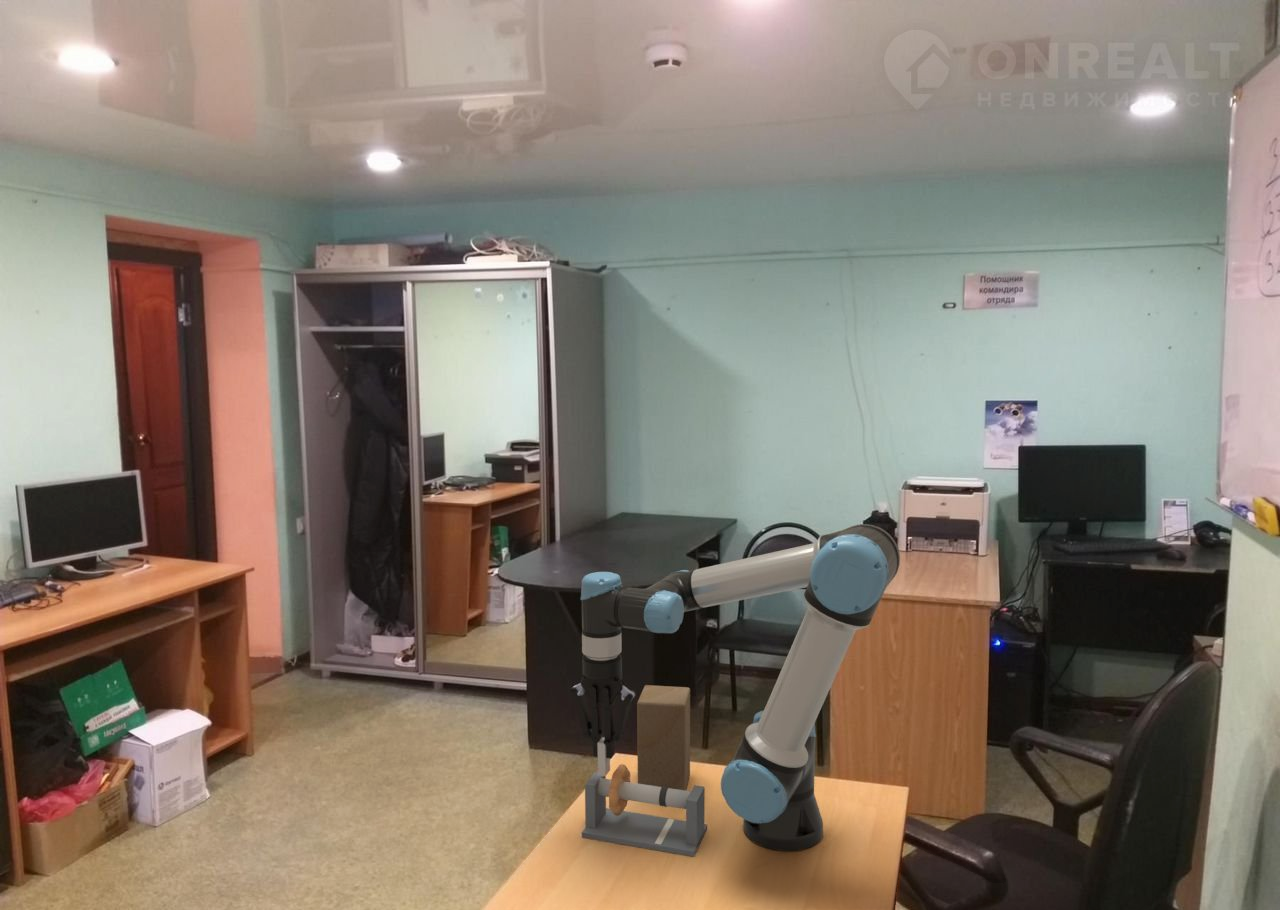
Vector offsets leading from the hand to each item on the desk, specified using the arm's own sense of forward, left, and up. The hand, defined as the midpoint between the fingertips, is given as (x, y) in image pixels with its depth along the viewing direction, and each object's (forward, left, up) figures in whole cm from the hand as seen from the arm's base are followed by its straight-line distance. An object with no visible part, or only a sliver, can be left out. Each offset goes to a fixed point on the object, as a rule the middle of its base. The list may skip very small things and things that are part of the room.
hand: (604, 772), depth 173 cm
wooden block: (-6, -20, -11) cm, 24 cm away
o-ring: (-3, 0, -7) cm, 8 cm away
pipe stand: (-8, 0, -11) cm, 14 cm away
